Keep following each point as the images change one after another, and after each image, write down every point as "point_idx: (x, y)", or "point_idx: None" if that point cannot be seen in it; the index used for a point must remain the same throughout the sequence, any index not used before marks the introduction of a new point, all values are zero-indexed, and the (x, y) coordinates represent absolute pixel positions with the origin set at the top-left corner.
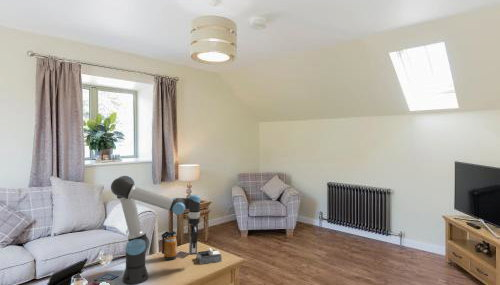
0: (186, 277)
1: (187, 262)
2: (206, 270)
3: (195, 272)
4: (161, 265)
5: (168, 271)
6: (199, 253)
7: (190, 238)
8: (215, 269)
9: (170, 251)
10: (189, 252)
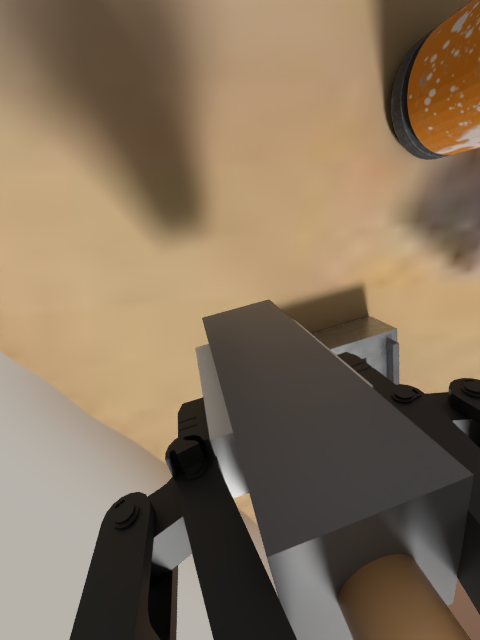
0: (10, 269)
1: (312, 257)
2: (151, 400)
3: (117, 331)
4: (293, 2)
5: (142, 87)
6: (379, 352)
7: (301, 479)
8: (165, 449)
9: (459, 58)
10: (251, 309)
